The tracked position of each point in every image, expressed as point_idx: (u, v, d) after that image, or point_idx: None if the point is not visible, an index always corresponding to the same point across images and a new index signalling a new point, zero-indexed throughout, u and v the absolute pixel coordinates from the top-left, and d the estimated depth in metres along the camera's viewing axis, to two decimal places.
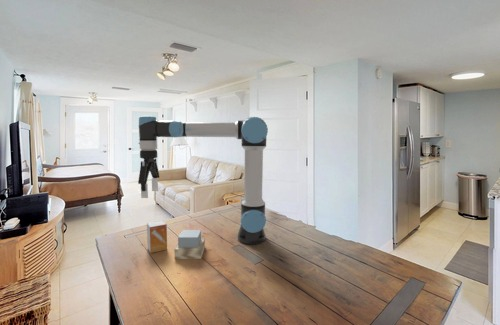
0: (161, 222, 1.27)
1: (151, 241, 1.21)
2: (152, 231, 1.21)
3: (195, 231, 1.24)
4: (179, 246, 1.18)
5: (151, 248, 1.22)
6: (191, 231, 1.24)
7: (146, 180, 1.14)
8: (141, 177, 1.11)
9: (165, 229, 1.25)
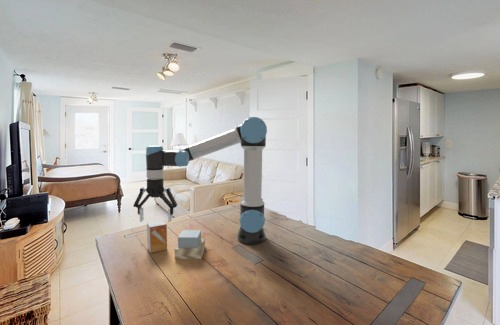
0: (161, 222, 1.27)
1: (151, 241, 1.21)
2: (152, 231, 1.21)
3: (195, 231, 1.24)
4: (179, 246, 1.18)
5: (151, 248, 1.22)
6: (191, 231, 1.24)
7: (139, 205, 1.22)
8: None
9: (165, 229, 1.25)
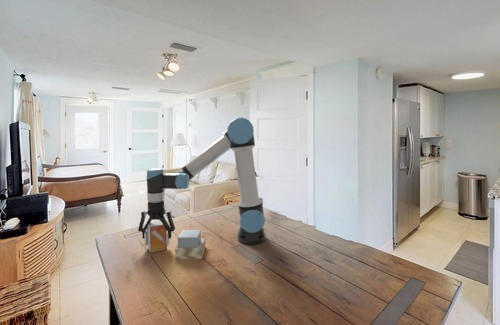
0: (161, 222, 1.27)
1: (151, 241, 1.21)
2: (152, 230, 1.21)
3: (195, 231, 1.24)
4: (179, 246, 1.18)
5: (151, 248, 1.22)
6: (190, 231, 1.24)
7: (144, 229, 1.24)
8: None
9: (165, 229, 1.25)
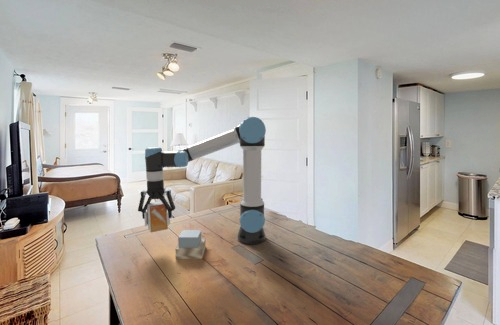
0: (161, 202, 1.25)
1: (151, 220, 1.20)
2: (152, 210, 1.20)
3: (195, 231, 1.24)
4: (180, 245, 1.18)
5: (151, 227, 1.21)
6: (191, 231, 1.24)
7: (144, 209, 1.23)
8: None
9: (165, 208, 1.23)
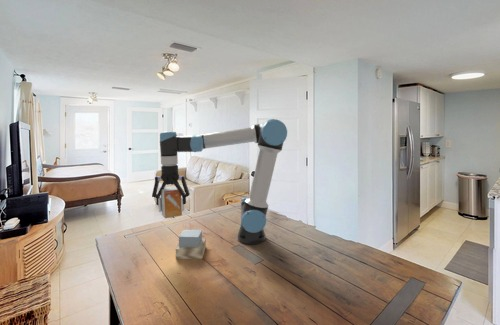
0: (175, 188, 1.23)
1: (166, 206, 1.18)
2: (166, 195, 1.18)
3: (196, 231, 1.25)
4: (180, 245, 1.18)
5: (166, 213, 1.18)
6: (191, 231, 1.25)
7: (158, 195, 1.20)
8: None
9: (179, 194, 1.21)
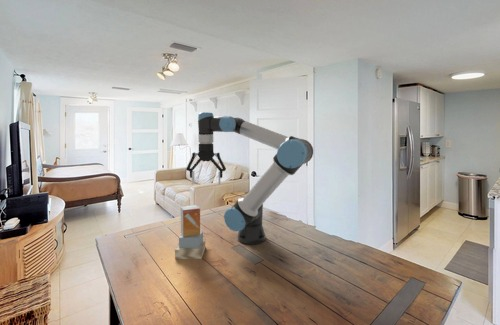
0: (195, 206, 1.22)
1: (184, 225, 1.17)
2: (185, 214, 1.17)
3: None
4: (180, 246, 1.18)
5: (184, 232, 1.17)
6: None
7: (192, 169, 1.31)
8: (188, 165, 1.32)
9: (198, 213, 1.19)
